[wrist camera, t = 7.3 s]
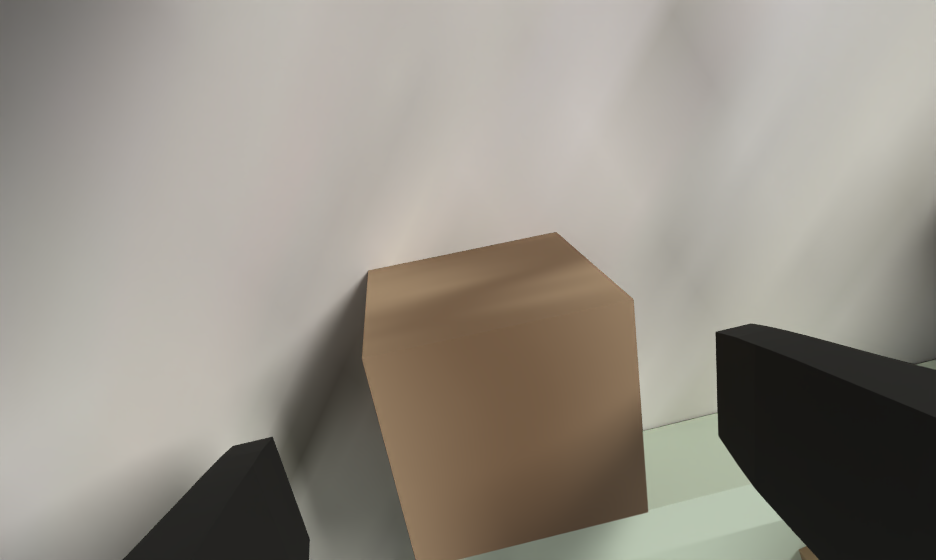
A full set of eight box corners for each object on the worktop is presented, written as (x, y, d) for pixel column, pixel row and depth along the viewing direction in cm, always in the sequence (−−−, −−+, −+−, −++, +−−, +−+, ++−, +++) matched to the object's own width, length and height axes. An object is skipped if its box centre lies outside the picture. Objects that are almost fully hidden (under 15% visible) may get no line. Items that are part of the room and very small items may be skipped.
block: (554, 230, 12) (633, 299, 8) (573, 391, 13) (648, 512, 10) (368, 269, 12) (361, 359, 8) (407, 429, 13) (418, 569, 9)
